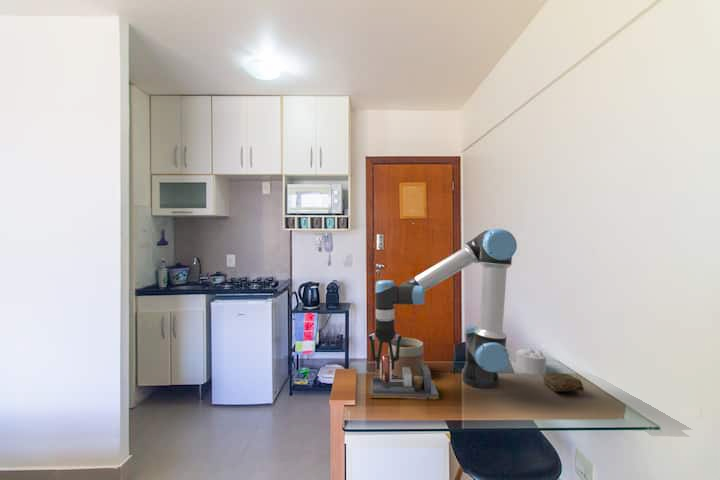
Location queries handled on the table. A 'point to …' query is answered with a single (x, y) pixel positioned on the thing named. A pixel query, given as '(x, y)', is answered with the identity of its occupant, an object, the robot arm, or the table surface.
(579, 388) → the stone
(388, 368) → the press handle
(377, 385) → the press bed
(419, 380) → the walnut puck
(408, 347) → the planter
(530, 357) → the lumpy-topped squat cylinder
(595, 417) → the table surface
